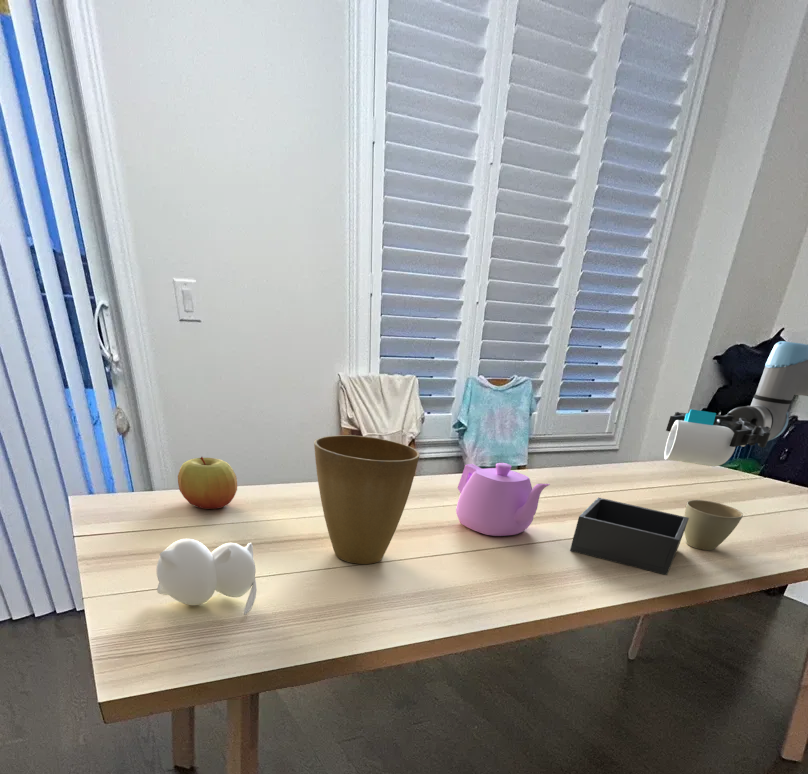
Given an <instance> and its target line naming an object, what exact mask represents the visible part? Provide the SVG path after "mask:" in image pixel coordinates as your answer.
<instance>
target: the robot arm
mask: <svg viewBox="0 0 808 774" xmlns="http://www.w3.org/2000/svg"><path fill="white" fill-rule="evenodd" d="M795 396H803V397H808V343H799V342H792V341H784V340H780V341H778V342H776V343H775V344H774V345H773V348H772V350H771V351H770V353H769V356H768V358H767V360H766V361H765V365H764V369H763V371H762V375H761V377H760V380H759V383H758V386H757V388H756V392H755V394H754V395H753V398H752V401H751V403H750V405H745V406H737V407H735V408H733V409H730V411H728V412H727V414H724V415H717V414H716V416H715V420H714V423H713V425H717V426H724V427H728V428H730V429H731V430H732V431H733V432H734V435H733V438H732V440H731V443H730V446H731V447H735V448H736V447H746V446H747V445H749V446H755V445H756V444H757V445H758V447H760V448H766V447H767V443H768V442H769V441H772V440H774V439H777V437H779V436H780V435H782V434H783V433H784V432H785V430H786V429H787V427H788V424H789V421H790V418H789V411H788V410H789V408H790V405H791V403H792V401H793V399H794V397H795ZM687 413H688V412H679V411H675V412H674V413H673V415H670V417H669V420H668V422H667V426H666V429H665V432H668V433H670V431H671V428H672V426H673V424H674V422H675V421H676V420H682V421H684V420H685V416H686V414H687Z"/></svg>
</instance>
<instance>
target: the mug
mask: <svg viewBox="0 0 808 774" xmlns="http://www.w3.org/2000/svg"><path fill="white" fill-rule="evenodd" d="M686 413H687V414H686V416H685V420H684V421H682V420H676V421H675V422H674V424H673V426H672V428H671V431H670V432H668V437H667V439H666V443H665V448H664V457H663V458H664V460H667V461H671V462H680V463H686V464H693V465H699V466H706V467H714V468H715V467H719V466H722V465H724V464H726V462H728V461H729V460H730V459H731V457H732V456H733V455H734V452H735V449H736V447H731V446H730V443H731V440H732V438H733V435H734V432H733V431H732V430H731V429H730V428H728V427H724V426H717V425H713V423H714V420H715V416H716V415H717V413H716V412H712V411H706V410H699V409H693V408H691V409H690V410H689V412H686Z"/></svg>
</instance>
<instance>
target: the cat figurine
mask: <svg viewBox="0 0 808 774" xmlns="http://www.w3.org/2000/svg"><path fill="white" fill-rule="evenodd" d="M254 560H255V559H254V546H253V543H252V542H248V543H247V545H246V546H242V545H240V543H239V544H238V543H236V542H226V543H223V544H221V545H219V546H218V547H216V548H215V549H214V550H213V551H211V550H209V548H208V547H207V546H206V545H205V544H204V543H203V542H200V541H199V540H197V539H194V538H180V539H178V540H176V541H174V542H172V543H171V544H170V545H168V546H167V547H166V548H165V549H164V550H162V551H161V552H159V557H158V561H157V563H156V577H157V581H158V584H157V587H156V591H157V594H158V595H162V596H168V597H171V598H172V599H174V601H177V602H179V603H181V604H184V605H187V606H200V605H203V604H205V603H206V602H208V601H209V600H210V599H211V598H212V597H213V595H214V593H215V591H216V592H217V593H219V594H221V595H224V596H227V597H229V598H241V597H243V596H244V595H246V594H247V593H248V592H249V591H250V592H249V595H248V597H247V600H246V603H245V606H244V609H243V616H244V617H246V616H248V614H249V613H250V612H251V610H252V608H253V606H254V604H255V600H256V598H257V592H258V591H257V581H256V569H257V568H256V564H255V561H254Z"/></svg>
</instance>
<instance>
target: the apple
mask: <svg viewBox="0 0 808 774" xmlns="http://www.w3.org/2000/svg"><path fill="white" fill-rule="evenodd" d="M177 485H178V489H179V490H178V491H179V492H180V494H181V495H182V497H183V498H184V499H185V500H186V501H187V502H188V503H189V504H190V505H192V506H193V507H195V508H199V509H204V510H218V509H222V508H223V507H226V506H228V505H229V504H231V502H232V501H233V499H234V498H235V496H236V494H237V491H238V478H237V475H236V473H235V471H234V469H233V468H232V466H231V465H230V464H229V463H228V462H226V461H225V460H222V459H219V458H215V457H203V456H201V457H194V458H190V459H188V460H187V461H186V460H185V461H184V462H183V463H182V465H181V466H180V468H179V471H178V474H177Z"/></svg>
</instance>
